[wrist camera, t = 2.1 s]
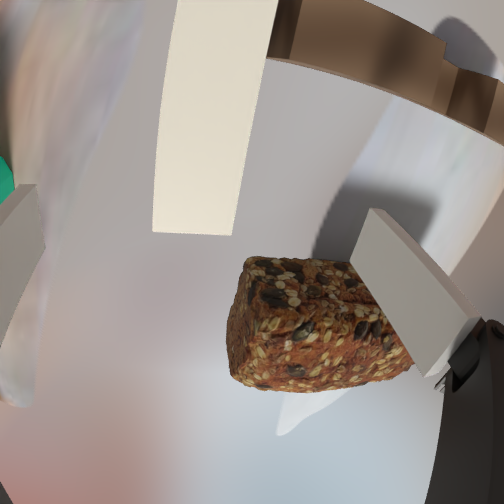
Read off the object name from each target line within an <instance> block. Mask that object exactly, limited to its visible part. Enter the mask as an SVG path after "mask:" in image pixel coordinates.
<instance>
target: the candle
mask: <svg viewBox="0 0 504 504" xmlns="http://www.w3.org/2000/svg"><path fill="white" fill-rule="evenodd" d="M14 190H15V189H14V182H13V174H12V172H11V170H10V169H9V167H8V165H7V164H6V162H5V160H4V159H3V158H2V157H1V156H0V205H1V203H2V202H3V201H4V200H5V199H6V198H7V197H8V196H9V195H10V194H11V193H12V192H13V191H14Z"/></svg>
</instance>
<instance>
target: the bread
mask: <svg viewBox="0 0 504 504" xmlns="http://www.w3.org/2000/svg"><path fill="white" fill-rule="evenodd" d="M226 344H227V353H228V359H229V368H230V375H231V376H232V377H233V378H234V379H235V380H237V381H239V382H241V383H243V384H244V385H245V386H248V387H255V388H257V389H258V390H262V391H267V390H272V391H285V392H297V393H312V392H320V391H325V390H336V389H341V388H344V389H345V388H348V387H349V388H350V387H354V386H361V385H365V384H366V383H368V382H377V381H381V380H390V379H393V378H394V377H395V376H397V375H399V374H400V373H401V372H403V371H408V370H409V368H410V366H411V365H413V364H415V363H414V361H413V359H412V358H411V356H410V354H409V353H408V351H407V349H406V348H405V346H404V344H403V343H402V341H401V340H400V338H399V336H398V335H397V333H396V331H395V330H394V328H393V327H392V325H391V323H390V322H389V320H388V319H387V317H386V316H385V314H384V312H383V311H382V309H381V308H380V306H379V305H378V303H377V302H376V300H375V299H374V297H373V296H372V294H371V293H370V291H369V289H368V288H367V286H366V285H365V283H364V282H363V281H362V279H361V278H360V276H359V275H358V273H357V272H356V270H355V269H354V267H353V266H352V264H351V263H346V262H335V261H328V260H318V259H310V258H308V259H304V260H302V259H297V258H293V259H289V258H280V259H277V258H267V257H261V256H254V257H250V258H247V260H246V261H245V262H244V266H243V272H242V273H241V275H240V277H239V283H238V290H237V293H236V295H235V299H234V304H233V305H232V306H231V309H230V313H229V317H228V320H227V333H226Z"/></svg>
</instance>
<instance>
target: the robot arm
mask: <svg viewBox="0 0 504 504" xmlns="http://www.w3.org/2000/svg"><path fill="white" fill-rule="evenodd" d="M45 248H46V247H45V242H44V236H43V231H42V224H41V218H40V211H39V203H38V195H37V185H36V184H20V185H19V186H18V187H17V188H16V189H15V190H14V191H13V192H12V193H11V194H10V195H9V196H8V197H7V198H6V199H5V200H4V201H3V202H2V203H1V205H0V347H1V344H2V342H3V339H4V336H5V334H6V331H7V329H8V326H9V324H10V321H11V319H12V317H13V314H14V312H15V309H16V307H17V305H18V303H19V300H20V298H21V296H22V294H23V292H24V290H25V287H26V285H27V283H28V281H29V279H30V277H31V275H32V273H33V271H34V269H35V267H36V265H37V263H38V261H39V259H40V257H41V255H42V254H43V252H44V250H45ZM349 261H350V263H351V264H352V266H353V267H354V269H355V270H356V272H357V273H358V275H359V276H360V278H361V279H362V281H363V282H364V283H365V285H366V286H367V288H368V289H369V291H370V293H371V294H372V296H373V297H374V299H375V300H376V302H377V303H378V305H379V306H380V308H381V309H382V311H383V312H384V314H385V316H386V317H387V319H388V320H389V322H390V323H391V325H392V327H393V328H394V330H395V331H396V333H397V335H398V336H399V338H400V340H401V341H402V343H403V344H404V346H405V348H406V349H407V351H408V353H409V354H410V356H411V358H412V359H413V361H414V363H415V364H416V366H417V368H418V369H419V371H420V373H421V375H422V376H423V377H427V376H431V375H434V374H437V373H438V372H439V371H440V370H441V369H442V368H443V366H444V365H445V364H446V363H447V362H448V363H449V365H450V366H451V368H450V369H449V370H448V372H447V373H446V374H445V375H444V376H443V377H442V378H441V380H440V381H439V382H438V383H437V384H436V385H435V388H434V389H435V390H437V389H438V388H439V387H440V386H441V384H445V386H444V387H443V388H442V389H441V390H440V392H442V393H444V402H443V411H442V419H441V426H440V433H439V439H438V445H437V451H436V456H435V462H434V466H433V471H432V476H431V480H430V485H429V489H428V493H427V497H426V500H425V504H504V326H503V325H502V324H501V323H499V322H498V321H495V320H488V321H487V322H485V321H484V320H483V319H482V317H481V315H480V313H479V312H478V311H477V310H476V308H475V307H474V306H473V305H472V303H471V302H470V301H469V300H468V299H467V298H466V296H465V295H464V294H463V293H462V292H461V291H460V289H459V288H458V287H457V286H456V285H455V284H454V282H452V280H451V279H450V278H449V277H448V275H447V274H446V273H445V272H444V271H443V270H442V269H441V268H440V267H439V266H438V264H437V263H436V262H435V261H434V260H433V259H432V258H431V257H430V256H429V255H428V254H427V253H426V252H425V250H424V249H423V248H422V247H421V246H420V245H419V244H418V243H417V242H416V241H415V240H414V239H413V238H412V237H411V236H410V235H409V234H408V233H407V232H406V231H405V230H404V229H403V228H402V227H401V226H400V225H399V224H398V223H397V222H396V221H395V220H394V219H393V218H392V217H391V216H390V215H389V214H388V213H387V212H386V211H385V210H383V209H377V208H369V211H368V214H367V217H366V219H365V222H364V225H363V227H362V230H361V232H360V235H359V238H358V240H357V243H356V245H355V248H354V250H353V253H352V255H351V258H350V260H349ZM0 504H13V503H12V501H11V499H10V498H9V496H8V494H7V493H6V491H5V489H4V488H3V486H2V484H1V482H0Z"/></svg>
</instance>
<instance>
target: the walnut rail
mask: <svg viewBox="0 0 504 504" xmlns="http://www.w3.org/2000/svg"><path fill="white" fill-rule="evenodd" d="M446 44H447V43H446V42H444V41H442V40H441V39H439V38H438V37H436V36H434V35H432V34H431V33H429V32H427V31H425V30H424V29H422V28H420V27H418V26H416V25H414V24H412V23H411V22H409V21H407V20H405V19H403V18H401V17H399V16H397V15H395V14H393V13H391V12H389V11H387V10H384V9H382V8H380V7H378V6H376V5H373V4H371V3H369V2H366V1H364V0H278V5H277V9H276V13H275V18H274V22H273V27H272V32H271V36H270V41H269V46H268V50H267V55H266V58H267V59H273V60H277V61H282V62H286V63H291V64H295V65H300V66H304V67H307V68H312V69H316V70H319V71H323V72H326V73H330V74H334V75H337V76H340V77H344V78H347V79H351V80H353V81H357V82H360V83H363V84H366V85H369V86H372V87H375V88H378V89H380V90H383V91H386V92H388V93H391V94H394V95H396V96H399V97H402V98H404V99H407V100H409V101H411V102H414V103H416V104H419V105H421V106H423V107H426V108H428V109H430V110H433V111H435V112H437V113H439V114H441V115H443V116H446V117H448V118H450V119H452V120H454V121H456V122H458V123H460V124H462V125H464V126H466V127H468V128H470V129H472V130H474V131H476V132H478V133H480V134H482V135H484V136H486V137H488V138H489V139H491V140H493V141H495V142H497V143H499V144H501V145H502V146H504V84H503V83H502V82H501V81H500V80H498V79H495V78H492V77H489V76H486V75H482V74H479V73H476V72H472V71H469V70H465V69H461V68H458V67H456V66H455V65H453V64H451V63H450V62H448V61H446V60H445V59H443V58H444V53H445V49H446Z"/></svg>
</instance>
